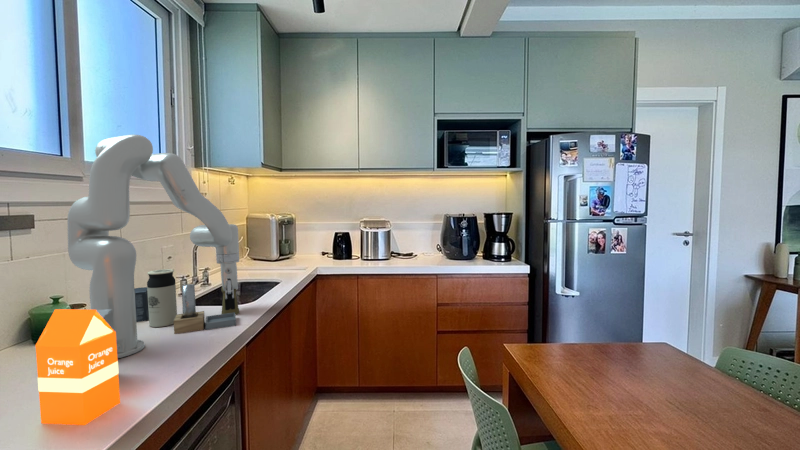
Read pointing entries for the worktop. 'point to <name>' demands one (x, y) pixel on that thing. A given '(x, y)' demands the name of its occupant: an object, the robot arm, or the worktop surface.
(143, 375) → the worktop surface
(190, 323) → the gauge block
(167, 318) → the travel mug
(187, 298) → the silver rectangular bar
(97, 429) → the worktop surface
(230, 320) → the tray
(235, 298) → the olive green tall block
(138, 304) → the box
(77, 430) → the worktop surface
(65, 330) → the orange juice
